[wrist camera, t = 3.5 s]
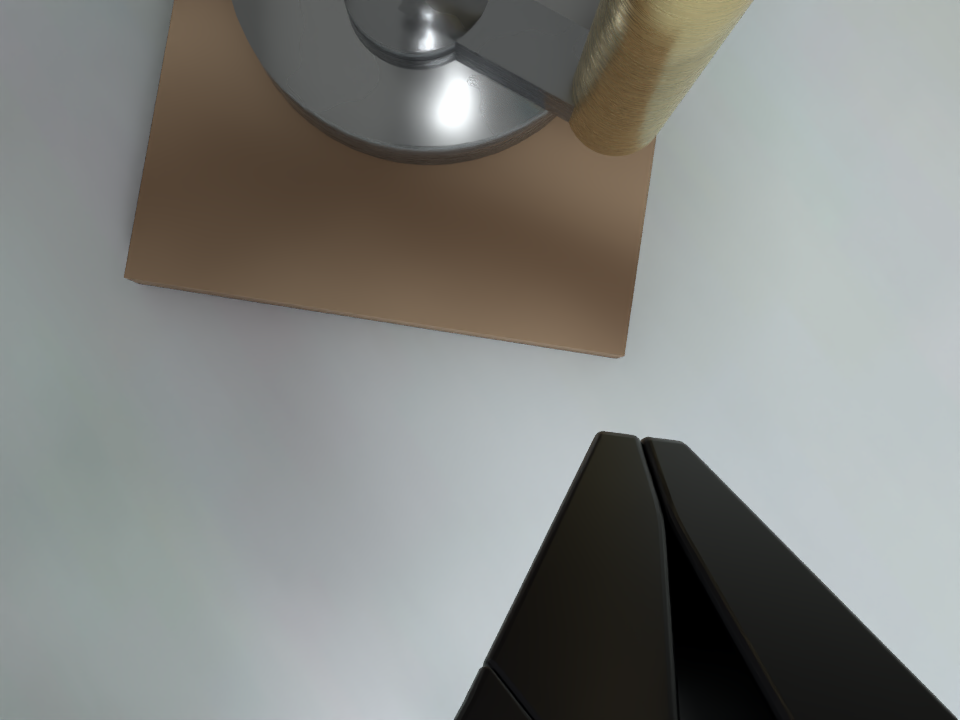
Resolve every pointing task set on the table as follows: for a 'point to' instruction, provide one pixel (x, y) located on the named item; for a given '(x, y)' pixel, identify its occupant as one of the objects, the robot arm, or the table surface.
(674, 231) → the table surface
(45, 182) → the table surface
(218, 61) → the level stand
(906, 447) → the table surface
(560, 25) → the cam capstan
